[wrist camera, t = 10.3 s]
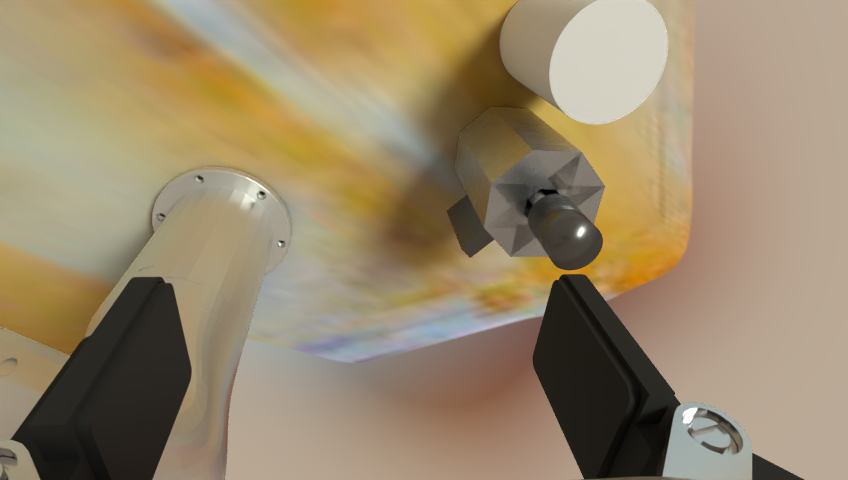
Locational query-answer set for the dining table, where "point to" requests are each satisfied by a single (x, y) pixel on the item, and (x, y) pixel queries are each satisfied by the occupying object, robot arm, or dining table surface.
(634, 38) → the light grey cylinder
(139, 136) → the dining table surface
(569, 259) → the plunger
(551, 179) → the octagonal faceted vessel
